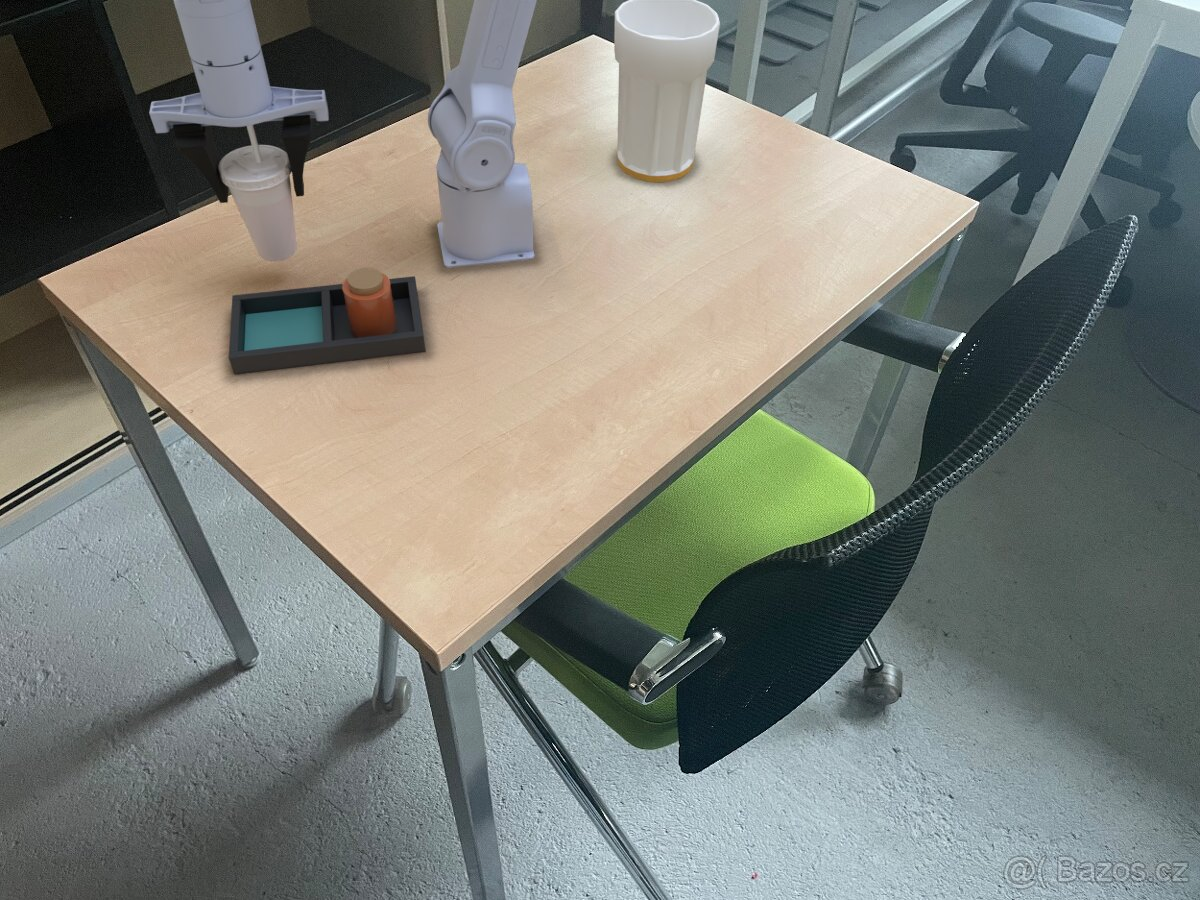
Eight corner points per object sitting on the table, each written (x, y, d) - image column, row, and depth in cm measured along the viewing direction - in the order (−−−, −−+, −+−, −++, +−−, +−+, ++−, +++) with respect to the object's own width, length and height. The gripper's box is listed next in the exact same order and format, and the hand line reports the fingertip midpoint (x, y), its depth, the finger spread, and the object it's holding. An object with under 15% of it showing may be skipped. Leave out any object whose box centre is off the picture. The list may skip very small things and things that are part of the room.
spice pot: (395, 309, 94) (387, 261, 90) (398, 338, 91) (390, 290, 87) (349, 314, 93) (339, 266, 89) (351, 343, 90) (341, 295, 86)
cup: (589, 168, 113) (594, 20, 100) (637, 128, 120) (647, -15, 107) (673, 198, 109) (688, 49, 96) (718, 155, 116) (738, 11, 103)
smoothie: (294, 274, 91) (260, 141, 81) (232, 264, 92) (190, 131, 82) (321, 236, 95) (291, 105, 85) (261, 226, 96) (225, 96, 86)
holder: (238, 314, 93) (232, 295, 91) (417, 294, 96) (414, 275, 94) (235, 377, 87) (228, 358, 85) (426, 354, 90) (423, 335, 88)
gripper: (314, 24, 83) (340, 164, 93) (138, 34, 80) (184, 177, 90) (315, 62, 78) (343, 204, 88) (128, 74, 76) (178, 219, 86)
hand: (263, 193), depth 89 cm, fingers closed on smoothie, 6 cm apart
